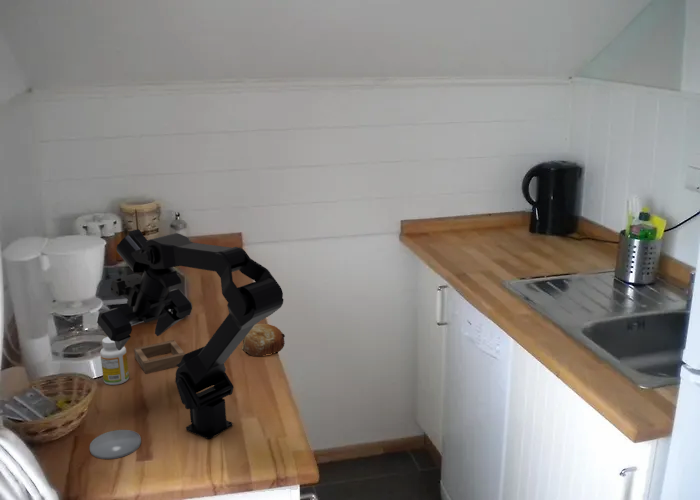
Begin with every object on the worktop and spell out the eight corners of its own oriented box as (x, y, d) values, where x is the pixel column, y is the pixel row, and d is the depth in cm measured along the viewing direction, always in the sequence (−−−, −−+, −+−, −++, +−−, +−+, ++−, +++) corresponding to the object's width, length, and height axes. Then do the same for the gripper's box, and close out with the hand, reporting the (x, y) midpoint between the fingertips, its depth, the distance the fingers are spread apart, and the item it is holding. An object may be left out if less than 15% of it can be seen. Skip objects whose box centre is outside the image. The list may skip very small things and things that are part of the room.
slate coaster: (151, 441, 135) (151, 438, 134) (111, 464, 127) (110, 461, 127) (119, 427, 139) (119, 424, 139) (79, 449, 132) (79, 446, 132)
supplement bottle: (120, 372, 163) (115, 332, 160) (134, 378, 159) (130, 338, 157) (98, 380, 159) (93, 339, 156) (112, 387, 155) (107, 346, 153)
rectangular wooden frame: (186, 364, 166) (185, 354, 165) (145, 373, 162) (144, 363, 161) (174, 349, 174) (173, 339, 173) (135, 358, 170) (134, 348, 169)
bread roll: (246, 356, 179) (230, 331, 175) (281, 333, 181) (266, 308, 178) (257, 372, 170) (241, 346, 167) (294, 348, 172) (279, 322, 169)
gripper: (171, 250, 151) (154, 302, 159) (89, 272, 137) (76, 328, 146) (202, 285, 146) (183, 337, 155) (120, 312, 133) (105, 367, 141)
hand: (137, 341), depth 149 cm, fingers open, 9 cm apart
